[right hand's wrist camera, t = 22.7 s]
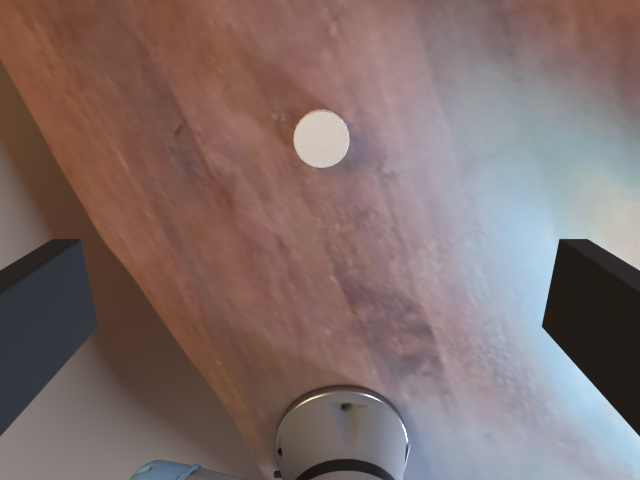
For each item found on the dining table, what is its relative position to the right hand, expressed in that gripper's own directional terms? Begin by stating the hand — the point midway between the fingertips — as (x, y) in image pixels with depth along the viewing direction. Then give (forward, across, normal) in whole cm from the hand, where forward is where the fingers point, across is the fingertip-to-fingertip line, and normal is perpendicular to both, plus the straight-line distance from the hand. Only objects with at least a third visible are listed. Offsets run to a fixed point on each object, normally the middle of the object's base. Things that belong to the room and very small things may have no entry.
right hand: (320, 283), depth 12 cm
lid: (+28, 0, 0) cm, 28 cm away
